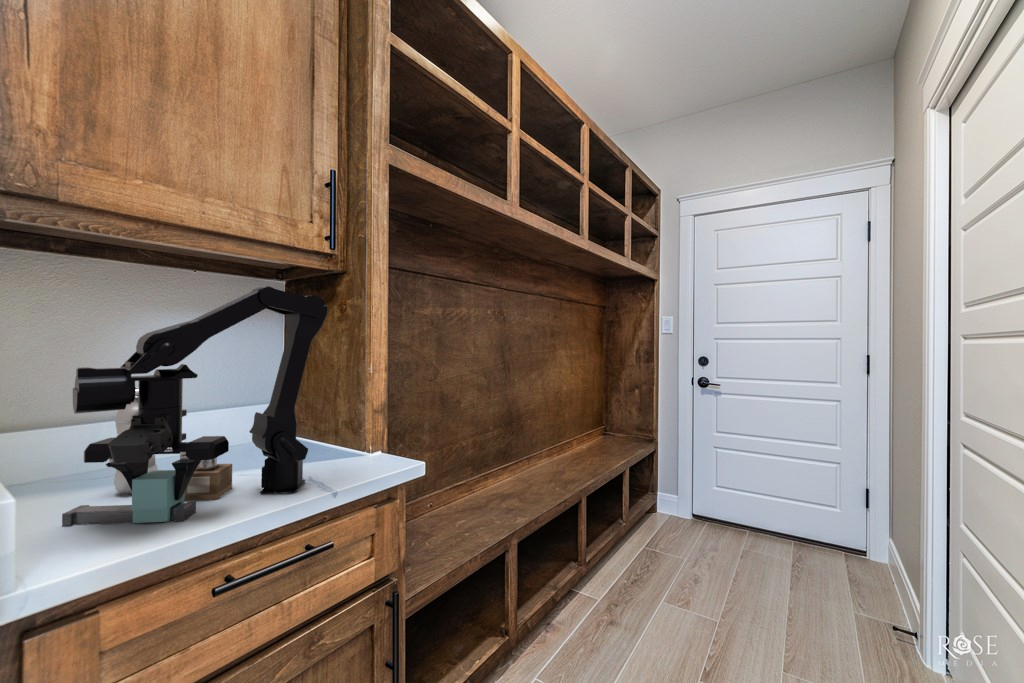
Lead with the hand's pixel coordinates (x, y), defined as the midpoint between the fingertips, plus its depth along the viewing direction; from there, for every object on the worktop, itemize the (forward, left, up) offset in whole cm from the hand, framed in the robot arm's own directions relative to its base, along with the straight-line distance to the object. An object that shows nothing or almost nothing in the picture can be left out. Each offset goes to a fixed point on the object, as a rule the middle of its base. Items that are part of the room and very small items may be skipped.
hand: (159, 500), depth 73 cm
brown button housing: (-2, -11, -3) cm, 12 cm away
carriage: (0, 0, -3) cm, 3 cm away
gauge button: (-2, -11, 0) cm, 11 cm away
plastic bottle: (+12, -14, -3) cm, 19 cm away
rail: (+4, 0, -3) cm, 5 cm away
